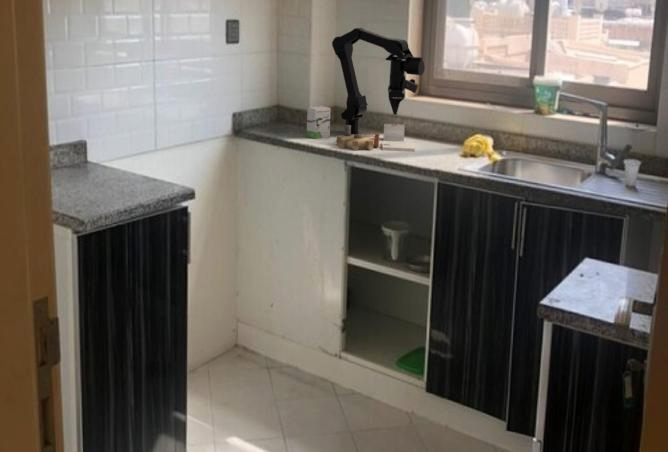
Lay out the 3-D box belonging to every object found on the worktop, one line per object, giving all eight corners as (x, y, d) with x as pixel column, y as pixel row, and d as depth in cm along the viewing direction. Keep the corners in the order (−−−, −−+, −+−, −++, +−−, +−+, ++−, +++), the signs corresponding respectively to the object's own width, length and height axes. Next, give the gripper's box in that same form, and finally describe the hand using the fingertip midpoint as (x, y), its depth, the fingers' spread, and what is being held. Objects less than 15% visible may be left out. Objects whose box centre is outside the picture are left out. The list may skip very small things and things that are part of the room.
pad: (382, 143, 328) (382, 141, 327) (413, 145, 327) (413, 142, 327) (382, 149, 317) (382, 146, 317) (414, 151, 317) (414, 148, 316)
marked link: (383, 138, 339) (384, 123, 337) (403, 139, 338) (404, 124, 337) (383, 140, 335) (384, 125, 333) (403, 141, 335) (404, 126, 333)
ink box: (314, 139, 332) (315, 109, 329) (305, 137, 336) (306, 107, 332) (330, 136, 338) (331, 107, 334) (321, 134, 341) (322, 105, 338)
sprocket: (328, 145, 320) (328, 126, 318) (353, 139, 332) (354, 121, 330) (361, 151, 311) (362, 132, 309) (386, 145, 323) (387, 127, 321)
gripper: (419, 76, 320) (416, 117, 324) (417, 70, 338) (414, 109, 342) (389, 75, 320) (387, 116, 325) (389, 69, 338) (386, 108, 343)
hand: (394, 112), depth 334 cm, fingers open, 9 cm apart
